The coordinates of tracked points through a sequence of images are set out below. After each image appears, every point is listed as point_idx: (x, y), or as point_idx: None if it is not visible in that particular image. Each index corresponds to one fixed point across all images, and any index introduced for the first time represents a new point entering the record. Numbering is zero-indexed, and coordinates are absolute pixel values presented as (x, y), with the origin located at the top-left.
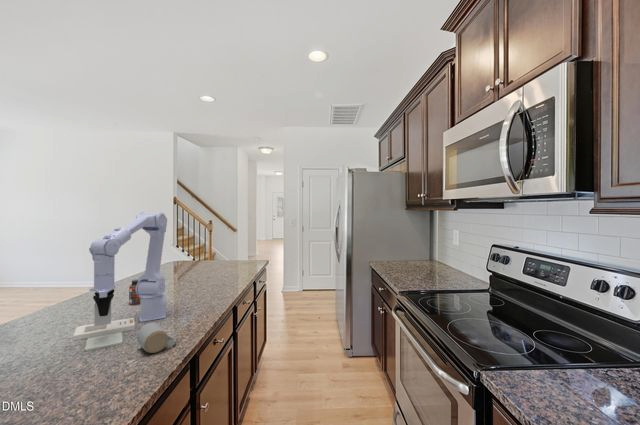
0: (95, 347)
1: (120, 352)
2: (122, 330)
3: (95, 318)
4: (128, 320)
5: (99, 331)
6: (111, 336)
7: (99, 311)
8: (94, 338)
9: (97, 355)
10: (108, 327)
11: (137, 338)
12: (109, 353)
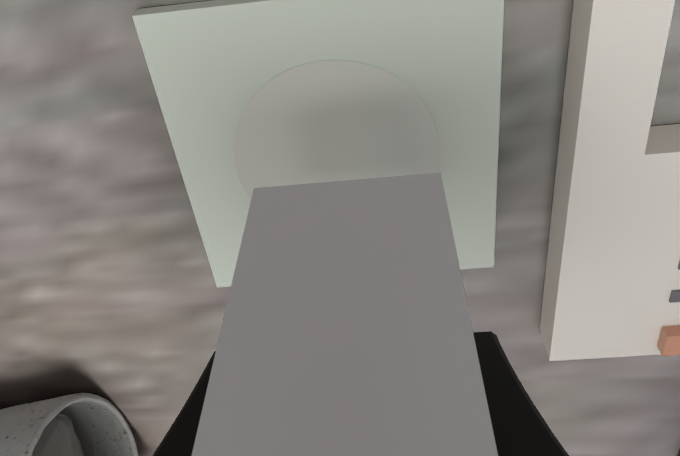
0: (161, 105)
1: (35, 278)
2: (551, 262)
3: (237, 276)
4: None
5: (580, 98)
6: None
7: (180, 422)
8: (450, 53)
9: (6, 136)
10: (669, 168)
11: (15, 437)
12: (32, 214)
